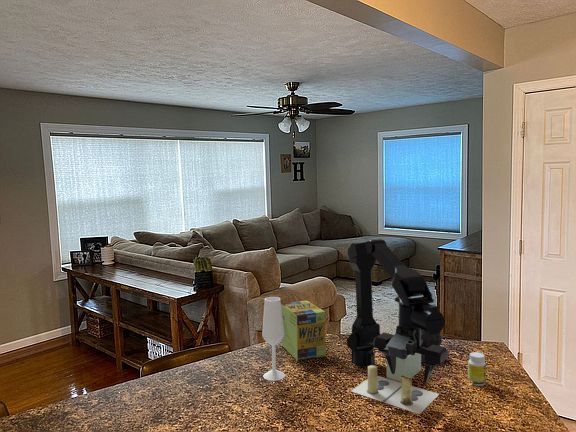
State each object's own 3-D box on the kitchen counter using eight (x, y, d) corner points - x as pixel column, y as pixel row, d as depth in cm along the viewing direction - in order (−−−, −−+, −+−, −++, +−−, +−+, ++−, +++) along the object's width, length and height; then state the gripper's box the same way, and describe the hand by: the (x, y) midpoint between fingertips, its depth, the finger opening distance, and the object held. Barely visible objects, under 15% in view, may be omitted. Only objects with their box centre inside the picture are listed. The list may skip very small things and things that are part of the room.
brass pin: (399, 402, 121) (399, 377, 120) (403, 398, 123) (403, 373, 122) (409, 405, 119) (409, 379, 119) (413, 401, 121) (413, 376, 121)
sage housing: (386, 381, 136) (386, 353, 135) (402, 368, 144) (402, 342, 144) (405, 387, 132) (405, 358, 131) (420, 373, 141) (421, 346, 140)
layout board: (350, 395, 128) (350, 366, 127) (373, 378, 138) (373, 351, 137) (419, 418, 115) (419, 387, 115) (439, 398, 125) (439, 369, 125)
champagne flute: (264, 370, 145) (262, 295, 142) (285, 371, 144) (284, 295, 142) (262, 380, 138) (260, 302, 136) (284, 380, 138) (282, 302, 135)
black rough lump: (392, 360, 153) (394, 332, 151) (405, 343, 164) (406, 317, 162) (433, 371, 146) (435, 342, 144) (443, 353, 158) (445, 326, 155)
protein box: (297, 361, 151) (296, 315, 150) (281, 345, 166) (280, 303, 164) (326, 356, 155) (325, 311, 154) (307, 341, 169) (307, 299, 168)
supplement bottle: (487, 387, 131) (487, 358, 131) (469, 385, 132) (470, 357, 132) (483, 379, 136) (484, 351, 135) (466, 378, 137) (467, 350, 136)
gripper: (363, 322, 121) (362, 379, 123) (431, 338, 110) (430, 401, 111) (383, 312, 130) (383, 365, 132) (449, 326, 118) (448, 384, 120)
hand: (409, 378), depth 123 cm, fingers open, 9 cm apart
